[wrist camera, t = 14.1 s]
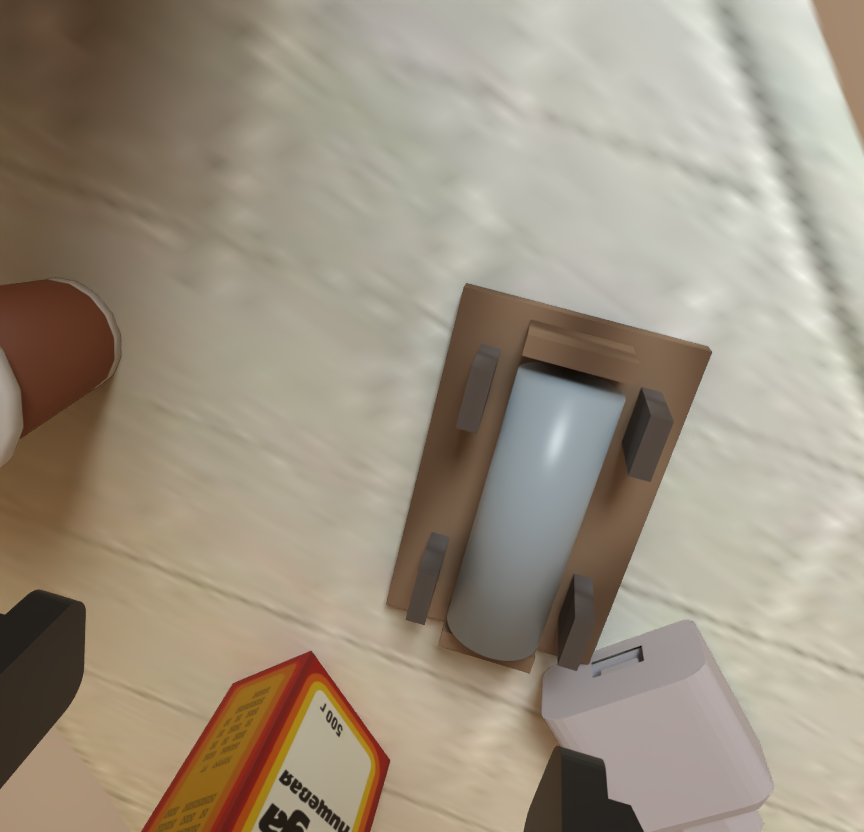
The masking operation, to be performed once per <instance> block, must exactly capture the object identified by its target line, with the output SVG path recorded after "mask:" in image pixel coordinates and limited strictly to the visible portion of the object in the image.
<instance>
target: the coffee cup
mask: <svg viewBox="0 0 864 832" xmlns="http://www.w3.org/2000/svg"><path fill="white" fill-rule="evenodd" d="M120 358H121V334H120V332H119V329H118V326H117V324H116V321H115V319H114V316H113V314H112V312H111V311H110V310H109V308H108V307H107V306H106V305H105V303H104V302H103V301H102V300H101V299H100V297H99V296H98V295H97V294H96V293H94V292H93V291H91V290H89V289H88V288H86V287H85V286H83V285H81V284H80V283H78V282H77V281H71V280H66V279H61V278H56V277H55V278H51V279H47V280H39V281H31V282H24V283H16V284H9V285H1V286H0V468H1V467H2V466H3V465H4V464H5V463H7V462H8V461H9V460H10V459H11V458H12V457H13V454H14V451H15V449H16V446H17V443H18V441H19V439H21V438H22V437H24V436H25V435H27V434H28V433H29V432H31V431H32V430H34V429H35V428H37V427H38V426H40V425H41V424H43V423H44V422H46V421H47V420H49V419H50V418H52V417H53V416H55V415H56V414H57V413H59V412H60V411H62V410H63V409H65V408H66V407H68V406H69V405H71V404H72V403H74V402H75V401H77V400H78V399H80V398H81V397H83V396H84V395H85V394H87V393H88V392H90V391H91V390H93V389H95V388H97V387H99V386H100V385H101V384H103V383H104V382H105V381H106V380H108V379H109V378H110V377H111V376H112V375H114V372H115V370H116V368H117V365H118V363H119V361H120Z"/></svg>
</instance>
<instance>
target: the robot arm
mask: <svg viewBox="0 0 864 832" xmlns="http://www.w3.org/2000/svg"><path fill="white" fill-rule="evenodd" d="M85 621H86V609H85V605H84V604H83V603H82V602H80V601H77V600H73V599H70V598H67V597H63V596H60V595H57V594H53V593H50V592H46V591H43V590H35V591H33V592H31V593H29V594H28V595H27V596H26V597H24V598H23V599H22V600H21V601H20V602H19V603H18V604H17V605H16V606H14V607H13V608H12V609H11V610H10V611H9V612H8V613H7V614H5V615H4V614H1V613H0V789H1V788H2V786H3V785H4V784H5V783H6V782H7V780H8V779H9V778H10V777H11V776H12V774H13V773H14V772H15V771H16V770H17V768H18V767H19V766H20V765H21V764H22V762H23V761H24V760H25V759H26V758H27V756H28V755H29V754H30V753H31V752H32V750H33V749H34V748H35V747H36V746H37V744H38V743H39V742H40V741H41V740H42V738H43V737H44V736H45V735H46V734H47V732H48V731H49V730H50V729H51V728H52V726H53V725H54V724H55V723H56V722H57V720H58V719H59V718H60V717H61V716H62V714H63V713H64V712H65V711H66V709H67V708H68V707H69V705H70V704H71V702H72V701H73V699H74V697H75V695H76V693H77V691H78V689H79V686H80V684H81V681H82V677H83V673H84V653H85ZM524 832H644V831H643V829H642V827H641V825H640V823H639V821H638V819H637V816H636V814H635V812H634V810H633V808H632V806H631V805H628V804H625V803H622V802H618V801H615V800H612V799H608V789H607V776H606V767H605V763H604V760H603V759H601V758H597V757H594V756H591V755H587V754H584V753H581V752H577V751H574V750H571V749H567V748H564V747H560V746H556V747H555V748H554V750H553V752H552V754H551V757H550V759H549V762H548V764H547V766H546V769H545V771H544V774H543V776H542V779H541V781H540V784H539V786H538V788H537V791H536V793H535V796H534V798H533V801H532V803H531V805H530V808H529V811H528V814H527V818H526V822H525V827H524Z"/></svg>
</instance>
